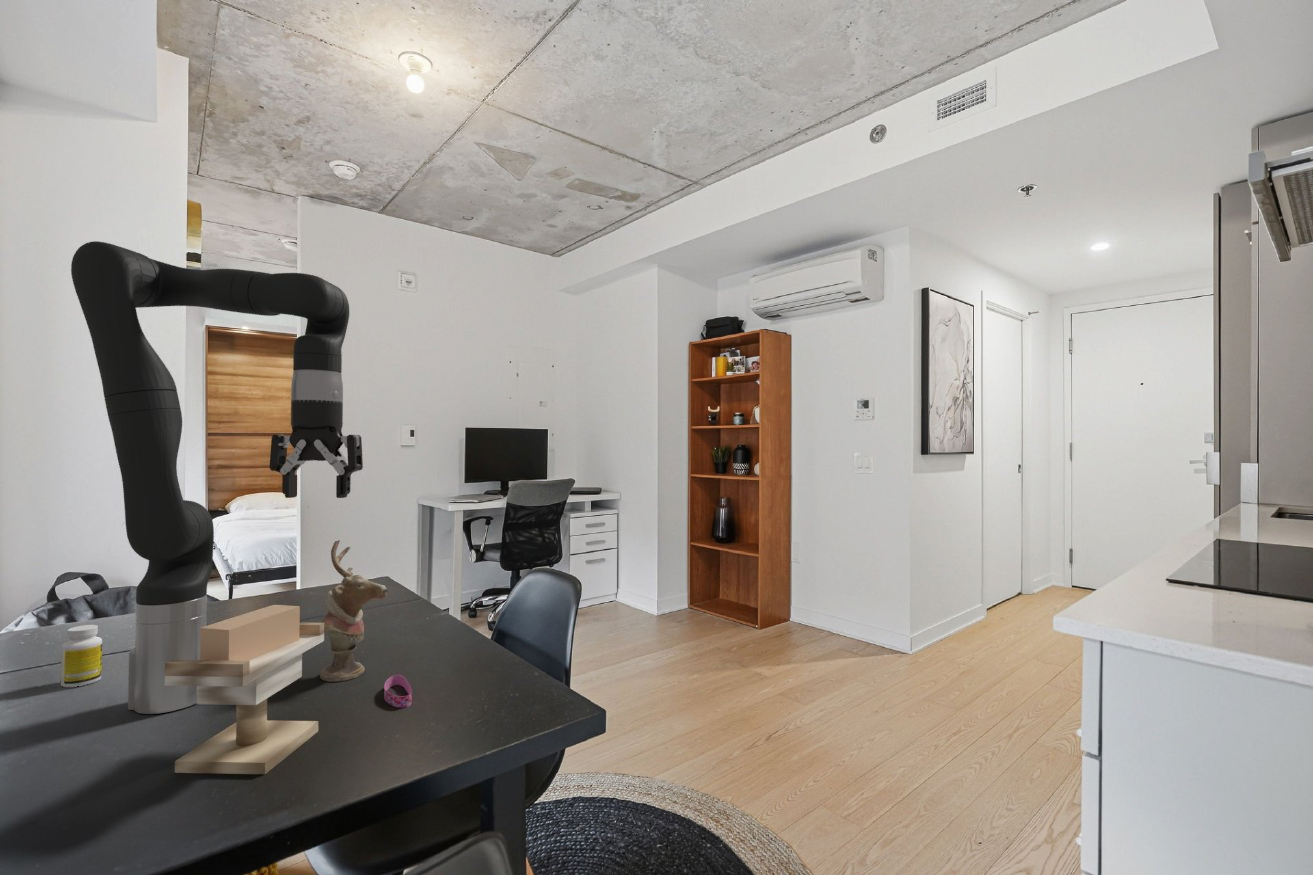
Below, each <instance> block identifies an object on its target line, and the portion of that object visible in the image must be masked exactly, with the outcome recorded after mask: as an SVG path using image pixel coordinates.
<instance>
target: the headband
mask: <svg viewBox="0 0 1313 875" xmlns="http://www.w3.org/2000/svg"><path fill="white" fill-rule="evenodd" d="M394 686H401V687H403V689H405V691H406V692H407V695H403V696H401V695H395V694H392V693H390V692H389V691H388V690H389V689H390V688H391V687H392V688H393V687H394ZM383 688H384V692H383V699H384V701H385V702H386V704H389V705H391V706H393V707H395V708H408V707H410V706H411V705H412V703H413V702H412V700H413V699H412V698H413V697H412V696H413V695H412V693H413V692H412V691H413V690H412V687H411V684H409V682H408V679H406V677H404V676H403V675H402V674H394V675H391V676H390V677H388V679H386V681H385V682H384V687H383Z"/></svg>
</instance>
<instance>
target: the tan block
mask: <svg viewBox="0 0 1313 875" xmlns="http://www.w3.org/2000/svg"><path fill="white" fill-rule="evenodd" d="M300 613H301V606H299V605H286V604H272V605H269V606H268V605H267V606H266V607H262V608H258V609H256V610H252V611H250V612H247V613H242V614H240V615H237V616H233V617H231V618H227V619H224V620H221V621H218V622H215V623H212V624H209V625H206V626H204V627H201V628H200V660H222V661H249V660H251V659H254V658H256V657H258V656H261V655H263V654H266V653H268V652H271V651H273V650H276V649H278V648H281V647H283V646H286V645H288V644H291V643H293V642H296V641H298V640H299V634H300V621H301V620H300V619H301V617H300V615H301V614H300Z"/></svg>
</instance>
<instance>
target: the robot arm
mask: <svg viewBox="0 0 1313 875" xmlns="http://www.w3.org/2000/svg"><path fill="white" fill-rule="evenodd" d="M70 270H71V271H70V272H71V273H70V274H71V279H72V280H71V281H72V283H73V286H74V289H75V294H76V296H77V299H78V301H79V304H80V307H81V310H82V311H81V312H82V314H83V316H84V319H85V321H86V325H87V328H88V332H89V336H90V338H91V341H92V342H91V343H92V346H93V350H94V355H95V358H96V362H97V366H98V371H99V376H100V380H101V384H102V392H103V397H104V404H105V407H106V408H105V409H106V412H107V416H108V417H107V418H108V421H109V425H110V428H111V433H112V438H113V443H114V447H115V448H114V449H115V454H116V457H117V461H118V466H119V469H120V470H119V471H120V475H121V481H122V490H123V491H122V492H123V503H124V504H123V505H124V517H125V532H126V537H127V540H128V543H129V545H130V547H131V549H132V550H133V551H134V553H135V554H137V556H139V557H141V558H143V559H144V560H147V561H148V564H147V565H148V566H147V569H146V573H145V574H144V576H143V578H142V579H141V580H140V582H139V583H138V585H137V587H136V590H135V591H136V593H135V638H134V639H135V647H133V648H131V649H130V650H129V651H128V678H127V679H128V685H127V686H128V688H127V689H128V690H127V692H128V693H127V694H128V696H127V697H128V698H127V709H128V710H131V711H132V710H133V711H134V712H135V713H138V714H141V715H142V714H143V715H154V714H163V713H168V712H174V711H177V710H178V711H179V710H182V709H184V708H185V709H186V708H189V707H190V706H193V705H196V704H197V686H165V663H166V662H169V661H171V660H200V628H201V627H204V626H207V604H208V603H207V602H208V600H207V597H208V596H207V595H208V594H207V593H208V584H209V581H210V578H211V575H212V571H213V559H214V558H213V557H214V540H215V532H214V530H215V529H214V521H213V518H212V515H211V514H210V512H209V510H207V508H206V507H205V506H203V505H202V504H201V503H198V502H196V501H194V500H188V499H187V500H186V499H184V498H183V494H182V491H181V487H180V484H179V477H178V468H177V465H178V464H177V463H178V462H177V461H178V453H179V449H180V444H181V438H182V432H183V413H182V410H181V402H180V399H179V395H178V394H179V393H178V390H177V385H176V382H175V380H174V377H173V376H172V374H171V371H170V370H169V369H168V367H167V366H166V364H165V363H164V362H163V360H162V359H161V357H160V356H159V354H158V353H157V352H156V350H155V349H154V348H153V346H152V345H151V343H150V342H149V341H148V339H147V337H146V335H145V334H144V332H143V329H142V326H141V323H140V321H139V317H138V312H137V308H139V309H141V308H156V307H157V308H160V307H198V308H207V309H212V310H220V311H224V312H225V311H226V312H231V313H232V312H234V313H240V314H247V315H256V316H265V317H268V316H269V317H271V316H272V317H274V316H275V317H276V316H279V315H288V316H294V317H301V318H305V319H306V326H305V327H306V328H305V330H304V331H305V332H304V335H301V336H299V337H296V339H295V340H294V343H293V352H292V354H293V361H292V362H293V363H292V368H293V371H292V378H291V385H290V386H291V388H290V390H291V392H290V426H291V430H292V431H291V434H290V435H287V434H281V433H280V434H279V433H277V434H273V435H272V436H271V440H270V452H269V453H270V456H269V470H270V471H272V472H277V473H280V474H281V480H282V482H281V492H282V495H284V497H285V499H290V498H291V499H292V498H293V499H294V498H297V497H298V474H296V473H297V471H298V470H299V469H300V468H301V466H302V465H304V464H305V463H306V462H313V461H317V462H320V461H321V462H323V461H326V462H327V463H328V464H329V465H330V466H332V467H333V469H334V470H335V471H336V473H337V474H338V475H336V480H335V481H336V482H335V484H336V489H335V490H336V493H335V494H336V498H337V499H345V498H347V497H348V495H349V494H350V493H351V484H352V483H351V482H352V481H351V478H352V477H351V476H352V474H353V473H356V472H358V471H362V470H363V468H364V466H363V463H364V462H363V461H364V460H363V445H362V444H363V443H362V436H361V435H360V434H348V435H343V432H342V429H343V424H344V422H343V415H344V412H343V410H344V386H343V378H342V368H343V367H342V363H343V362H342V361H343V360H342V359H343V358H342V355H343V354H342V353H343V352H342V347H343V344H344V341H345V337H346V333H347V329H348V324H349V320H350V303H349V299H348V297H347V295H346V293H345V292H344V291H343V290H342V288H340V287H338V286H337V285H335V284H333V283H331V282H329V281H328V280H326V279H324V278H322V277H319V276H317V275H313V274H309V273H303V272H302V273H301V272H281V273H280V272H279V273H277V272H276V273H269V272H263V271H254V270H249V269H248V270H247V269H239V268H238V269H237V268H211V269H195V268H186V267H181V266H176V265H173V264H170V263H167V262H163V261H161V260H157V259H153V258H150V257H148V256H147V255H145V254H142V253H140V252H136V251H134V250H131V249H128V248H125V247H122V246H120V245H116V244H113V243H110V242H104V241H99V240H98V241H97V240H96V241H95V240H94V241H88V242H85V243H84V244H82V245H81V246H79V247H78V248H77V249H76V251H75V253H74V254H73V256H72V260H71V264H70ZM290 445H291V446H292V448H293V450H292V451H291V453H290V454H289V455H288V448H289V447H290ZM343 445H344V447H345V448H346V449H347V450H346V451H347V452H346V453H347V459H346V457H345V456H344V454H343V452H342V451H341V450H340V448H341V447H342V446H343ZM287 456H288V457H287Z"/></svg>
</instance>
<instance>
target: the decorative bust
mask: <svg viewBox="0 0 1313 875" xmlns="http://www.w3.org/2000/svg"><path fill="white" fill-rule="evenodd" d="M340 542H341V540H340V539H339V540H335V541H334V542H333V545H332V546H331V550H330V557H331V558H330V559H331V563H332V565H333V567H334V569H335V570H336V572H337V573H338V575H339V574H340V575H341V576H342V577H343V579H342V580H341V583H340V584H338V585H336V586H334V587H333V588H331V589H329V591H328V592H327V595H326V598H325V599H324V605H325V607H326V609H327V613H326V614H325V617H324V618H323V620H321V622H320V623H324V634H325V635H327V636H328V637H329V640H330V650H329V651H330V653H331V654H334V656H333V660H332V662H331V663H330V664H329V665H327V666H325V667H324V668H322V669H321V671H319V678H320V679H321V680H322V681H324V682H344V681H350V680H353V679H356V678H358V677H360V676H361V675H363V674H364V673H365V669H366V668H365V666H363V664H362V663H360V662H358V661H357V662H356V661H355V659H354V658H355V657H354V651H356V649H357V644H359V643H360V642H362V641H363V640H364V638H365V625H364V621H363V616H364V612H363V610H362V608H363V607H364V605H366V604H367V603H370V602H372V601H375V600H384V599H385V598H386V596H387V595H388V591H389V590H388V588H387V587H386V585H383V584H379V583H377V582H373V581H370V580H369V579H368V578H366V577H363V576H361V575H360V574H357V575H356V574H355V575H354V573H353V572H352V571H353V569H354V568H353V567H348V568H347V570H346V569H345V568H344V567H342V566H341V561H342V559H343V558H344V557H345V555H346V554H347V553H348V552H349V551H350V549H351V547H350V546H346V547H345V548H344V549H343V550H342V551H341V552H340V553H339V554H338V555H337V550H338V547H339V544H340Z"/></svg>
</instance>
